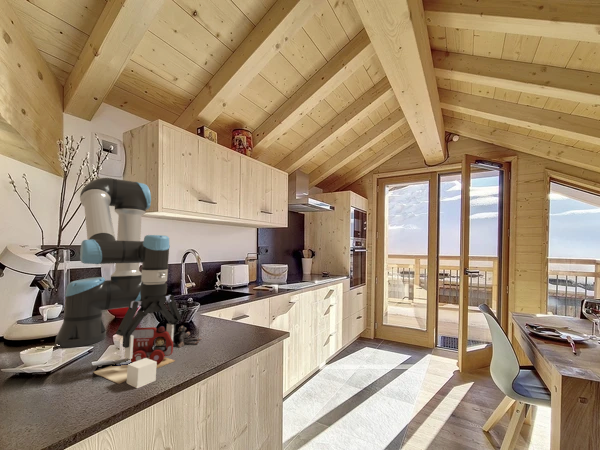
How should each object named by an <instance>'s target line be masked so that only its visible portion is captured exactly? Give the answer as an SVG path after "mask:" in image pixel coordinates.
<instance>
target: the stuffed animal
mask: <svg viewBox="0 0 600 450" xmlns="http://www.w3.org/2000/svg"><path fill="white" fill-rule="evenodd" d="M186 330H187V327H185V326H184V325H181V326H179V327H178V330H177V331H178V332H177V333H176V332H175V333H174V334H173V348H175V347H176V348H177V347H178V348H183V347H184V346H196V345H198V344H199V343H200V341H201V340H202V339H203V338H202V337H199V338H194V337H192V338H189V336H190V335H191V332H190V331H187V332H186ZM186 338H188V339H186Z"/></svg>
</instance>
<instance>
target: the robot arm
mask: <svg viewBox="0 0 600 450" xmlns="http://www.w3.org/2000/svg"><path fill="white" fill-rule="evenodd" d="M151 194H152V193H151V191H150V188H149V186H148V185H147V184H146V183H143V182H138V181H132V180H124V179H118V178H111V177H100V178H96V179H93V180H91V181H90V182H88V183H87V184H85V185H84V187H83V188H81V191H80V196H79V198H80V204H81V206H83V207H84V216H85V227H86V228H85V229H86V237H87V239H84V240H82V241H81V243H80V249H79V260H80V262H81V263H82V264H88V265H89V264H90V265H104V264H105V265H108V264H111V265H112V264H115V271H114V272H113V273H112V274H111V275H110V279H108V280H107V279H105V277H103V276H96V277H87V278H83V279H78V280H77V279H76V280H74V281H70V282H69V283H67V285H66V290H65V294H64V297H65V299H64V311H63V320H62V324H61V326H60V328H59V331H58V333H57V335H56V336H55V341H54V345H55V344H58V345H60V346H62V347H61V348H76V347H82V346H89V345H92V344H96V343H98V342H102V341H103V340H105V339H106V338H107V331H106V326H105V325H104V321H103V320H104V319H103V312H104V311H109V310H117V309H124V308H127V310H126V312H125V315H124V316H123V319H122V320H121V323H120V324H119V326H118V328H117V330H116V333H115V334H116V335H117V336H121V337H122V347H123V348H124V358H125V359H126V360H129V359H132V355H133V339H134V336H133V335H131V334H132V333H133V332H134V330H135V329H136V328H138V326H139V325H140V323H141V322H142V320H143V319H144V318H145V317H146V316H147V315H148V314H153V313H158V312H160V313H161V315H162V316H163V317H164V318H165V319H166V321H167V322H168V323H166V329H165V331H167V332H168V333H169V335H170V337H171V339H172V341H173V336H174V334H176V325H177V324H178V325H179V322H180V321H181V320H182V317H181V315H180V311H179V310H178V307H177V305H176V302H175V295H172V294H167V291H168V284H167V283H166V282H167V281H168V276H169V275H168V272H169V271H168V270H169V258H170V257H169V256H170V247H171V246H170V237H169V236H168V235H158V234H148V235H147V234H146V235H144V237H143V240H141V237H142V235H141V234H142V217H143V215H145V214H146V210H149V209H150V207H151V205H152V204H151V202H152V195H151ZM110 207H114V212H115V213H116V214H117V215H118V221H117V236H116V235H115V230H114V225H113V221H112V220H113V219H112V215H111V214H112V213H111V209H110ZM116 237H117V238H116ZM140 264H142V265H141V271H140ZM165 303H167V306H166V305H165ZM167 307H168V308H167ZM168 309H169V310H168Z"/></svg>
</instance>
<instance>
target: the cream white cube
mask: <svg viewBox="0 0 600 450" xmlns="http://www.w3.org/2000/svg"><path fill="white" fill-rule="evenodd" d="M156 367H157V362H156V361H153V360H151V359H148V358H144V359H141V360H138V361H136V362H133V363H130V364H128V368H127V381H126V384H128V386H132V387H134V388H136V389H139V388H141V387H144V386H146V385H148V384H151V383H154V382H156V380H157V369H156Z"/></svg>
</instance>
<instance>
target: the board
mask: <svg viewBox="0 0 600 450" xmlns="http://www.w3.org/2000/svg"><path fill="white" fill-rule="evenodd" d="M147 358H148V359H149V358H150V357H147ZM175 361H176V360H175V359H171V358H169V357H167V356H164V359H163V361H162V362H161V363H159V364H157V367H156V370H158V369H159V368H162V367H164V366H167V365H170V364H172V363H174V362H175ZM127 368H128V365H121V366H112V365H108V366H105V367H103V368H100V369H97V370H95V371H92V373H93V374H95V375H97V376H99V377H102V378H105V379H107V380H109V381H111V382H113V383H115V384H118V385H120V384H123V383H125V382H127Z"/></svg>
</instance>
